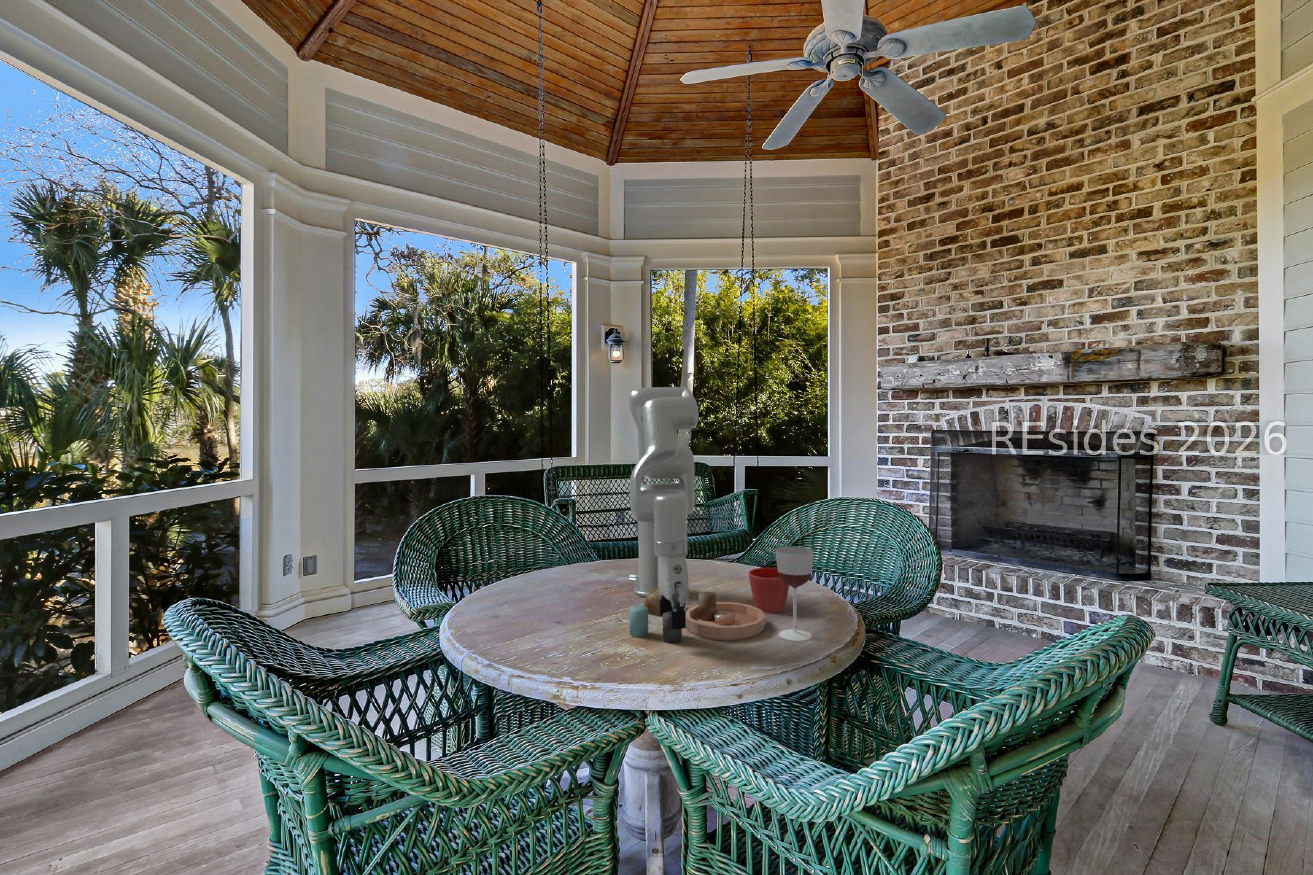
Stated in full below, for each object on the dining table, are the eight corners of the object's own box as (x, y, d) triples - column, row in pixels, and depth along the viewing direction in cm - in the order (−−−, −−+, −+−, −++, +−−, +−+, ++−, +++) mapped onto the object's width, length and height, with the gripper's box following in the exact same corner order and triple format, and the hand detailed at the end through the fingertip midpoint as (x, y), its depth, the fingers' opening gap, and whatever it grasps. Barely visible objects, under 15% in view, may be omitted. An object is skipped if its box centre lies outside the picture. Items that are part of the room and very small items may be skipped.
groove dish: (672, 632, 155) (672, 619, 155) (706, 609, 172) (706, 598, 172) (746, 645, 146) (746, 632, 146) (775, 620, 162) (775, 608, 162)
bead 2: (659, 641, 149) (659, 615, 149) (668, 635, 153) (668, 610, 153) (676, 644, 147) (675, 618, 147) (685, 638, 151) (684, 613, 151)
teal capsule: (626, 635, 154) (625, 610, 154) (635, 629, 158) (635, 605, 157) (642, 638, 152) (642, 613, 151) (651, 632, 156) (651, 607, 155)
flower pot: (791, 615, 166) (790, 578, 165) (747, 613, 168) (747, 576, 167) (791, 603, 176) (790, 568, 176) (750, 601, 178) (749, 566, 178)
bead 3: (700, 621, 160) (699, 597, 159) (697, 615, 164) (697, 592, 164) (717, 620, 160) (717, 596, 160) (715, 614, 164) (714, 591, 164)
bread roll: (651, 630, 168) (657, 606, 164) (635, 604, 176) (640, 580, 172) (684, 623, 172) (691, 600, 169) (667, 598, 180) (673, 575, 177)
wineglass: (807, 643, 146) (806, 555, 145) (771, 636, 151) (770, 551, 150) (818, 632, 153) (818, 548, 152) (783, 626, 158) (782, 545, 157)
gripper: (698, 554, 142) (700, 631, 142) (675, 540, 158) (677, 610, 159) (665, 556, 140) (667, 635, 140) (645, 542, 156) (647, 613, 157)
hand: (672, 621), depth 149 cm, fingers open, 9 cm apart
